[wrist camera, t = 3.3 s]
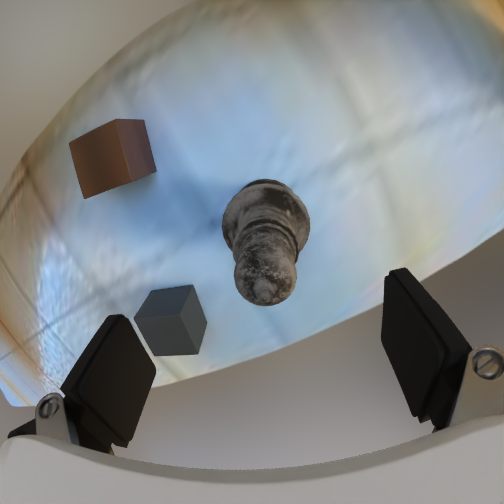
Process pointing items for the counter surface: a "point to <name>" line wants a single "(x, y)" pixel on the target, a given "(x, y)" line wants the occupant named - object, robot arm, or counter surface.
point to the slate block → (172, 321)
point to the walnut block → (112, 156)
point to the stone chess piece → (265, 240)
